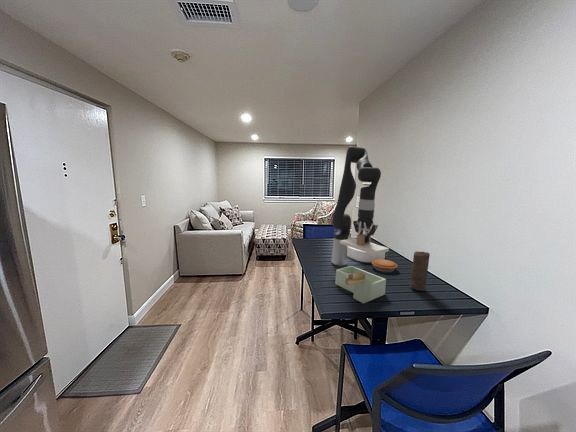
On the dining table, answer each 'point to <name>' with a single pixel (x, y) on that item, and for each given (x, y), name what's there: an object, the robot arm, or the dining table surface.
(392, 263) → the pie
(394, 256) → the dining table surface
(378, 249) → the lid
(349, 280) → the tan tapered bar
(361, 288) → the light green open box
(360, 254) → the white knobbed disc
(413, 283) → the candle
